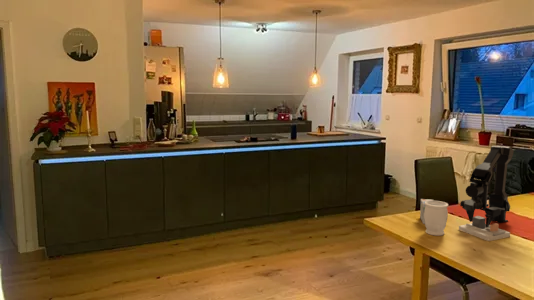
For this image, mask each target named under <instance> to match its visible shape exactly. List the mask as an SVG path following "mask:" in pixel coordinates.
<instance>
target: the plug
mask: <svg viewBox="0 0 534 300" xmlns="http://www.w3.org/2000/svg"><path fill="white" fill-rule="evenodd" d="M471 223H472V226H475V227H478V228H481V229H485V224H486V217H485V216H484V217H483V216H480V215H475V216H473V220H472V222H471Z"/></svg>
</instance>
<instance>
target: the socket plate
mask: <svg viewBox="0 0 534 300" xmlns="http://www.w3.org/2000/svg"><path fill="white" fill-rule="evenodd" d="M490 225H491V224H490ZM490 225H489V227H486V223H485V229H487V228H490ZM498 229H499V230H502V231H505V233H504V234H499V235H493V234H494V233H492V232H489V231H486V230H483V229H481V228H478V227H475V226H472V222H470V223H465V224H462V225H458V230H459V231H462V232H463V233H466V234H468V235H471V236H473V237H474V236H475V237H477V238H480V239H481V240H484V241H487V242H491V241H497V240H500V239H505V238H509V237H511V231H510V232H509V231H507V230H505V229H501V228H499V227H498Z"/></svg>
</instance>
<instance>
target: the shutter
mask: <svg viewBox="0 0 534 300" xmlns="http://www.w3.org/2000/svg"><path fill="white" fill-rule="evenodd" d="M499 224H500V223H498V222H496V223H492V224H491V223H490V228H487V229H483V230H486V231H489V232H492V233H494V234H493V235H499V234H504V233H505V231H506V230H505V231H502V230H503V229H502V230H499V229H500V228H499ZM498 228H499V229H498Z"/></svg>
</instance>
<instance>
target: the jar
mask: <svg viewBox="0 0 534 300" xmlns="http://www.w3.org/2000/svg"><path fill="white" fill-rule="evenodd" d="M425 205H426V207H425V210H424V220H425V224H424V226H425V228H426V229H425V233H426V234H428V235H431V236H439V237H440V236H443V235H445V231H444V230H445V229H446V227H447V223H448V217H449V215H448V214H449V213H448V207H449V203H448V202H445V201H440V200H434V201H426V202H425Z"/></svg>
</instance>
